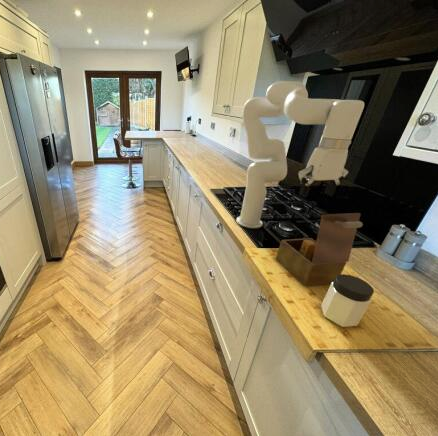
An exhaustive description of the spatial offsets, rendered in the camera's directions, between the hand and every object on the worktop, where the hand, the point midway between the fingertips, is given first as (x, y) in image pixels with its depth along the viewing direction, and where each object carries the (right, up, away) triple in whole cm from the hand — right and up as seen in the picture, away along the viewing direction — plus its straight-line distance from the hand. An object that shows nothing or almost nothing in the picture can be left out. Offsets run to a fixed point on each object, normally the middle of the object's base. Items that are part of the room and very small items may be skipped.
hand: (315, 195), depth 81 cm
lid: (+1, -14, -7) cm, 16 cm away
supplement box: (+1, -26, +8) cm, 27 cm away
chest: (0, -27, +6) cm, 28 cm away
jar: (-2, -37, -12) cm, 39 cm away
